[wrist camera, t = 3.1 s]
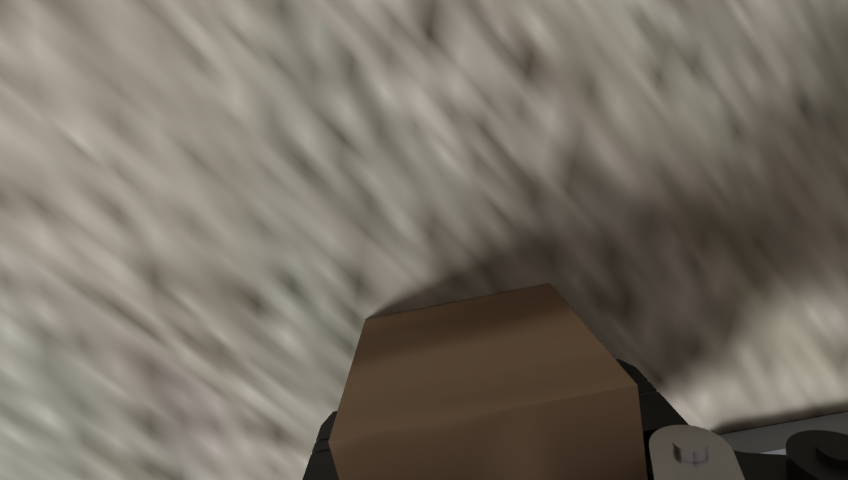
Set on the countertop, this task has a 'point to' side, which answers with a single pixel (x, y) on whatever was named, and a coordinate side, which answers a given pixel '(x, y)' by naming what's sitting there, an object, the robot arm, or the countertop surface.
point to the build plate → (782, 434)
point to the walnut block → (487, 396)
